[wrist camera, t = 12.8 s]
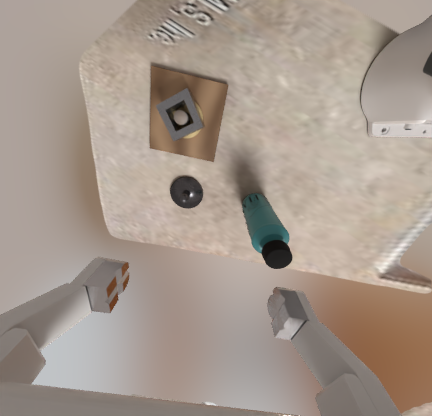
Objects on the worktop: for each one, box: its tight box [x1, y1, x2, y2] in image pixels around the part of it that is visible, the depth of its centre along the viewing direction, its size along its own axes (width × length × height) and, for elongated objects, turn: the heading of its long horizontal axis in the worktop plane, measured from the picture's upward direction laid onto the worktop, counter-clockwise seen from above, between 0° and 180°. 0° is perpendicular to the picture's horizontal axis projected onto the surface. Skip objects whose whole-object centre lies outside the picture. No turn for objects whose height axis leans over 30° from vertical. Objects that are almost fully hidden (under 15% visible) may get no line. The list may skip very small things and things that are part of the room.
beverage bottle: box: [242, 193, 292, 269], centre depth 32 cm, size 6×7×20 cm
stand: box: [170, 177, 203, 208], centre depth 38 cm, size 8×8×5 cm
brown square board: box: [150, 66, 228, 162], centre depth 30 cm, size 14×14×6 cm
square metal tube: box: [156, 88, 205, 141], centre depth 29 cm, size 6×6×4 cm
